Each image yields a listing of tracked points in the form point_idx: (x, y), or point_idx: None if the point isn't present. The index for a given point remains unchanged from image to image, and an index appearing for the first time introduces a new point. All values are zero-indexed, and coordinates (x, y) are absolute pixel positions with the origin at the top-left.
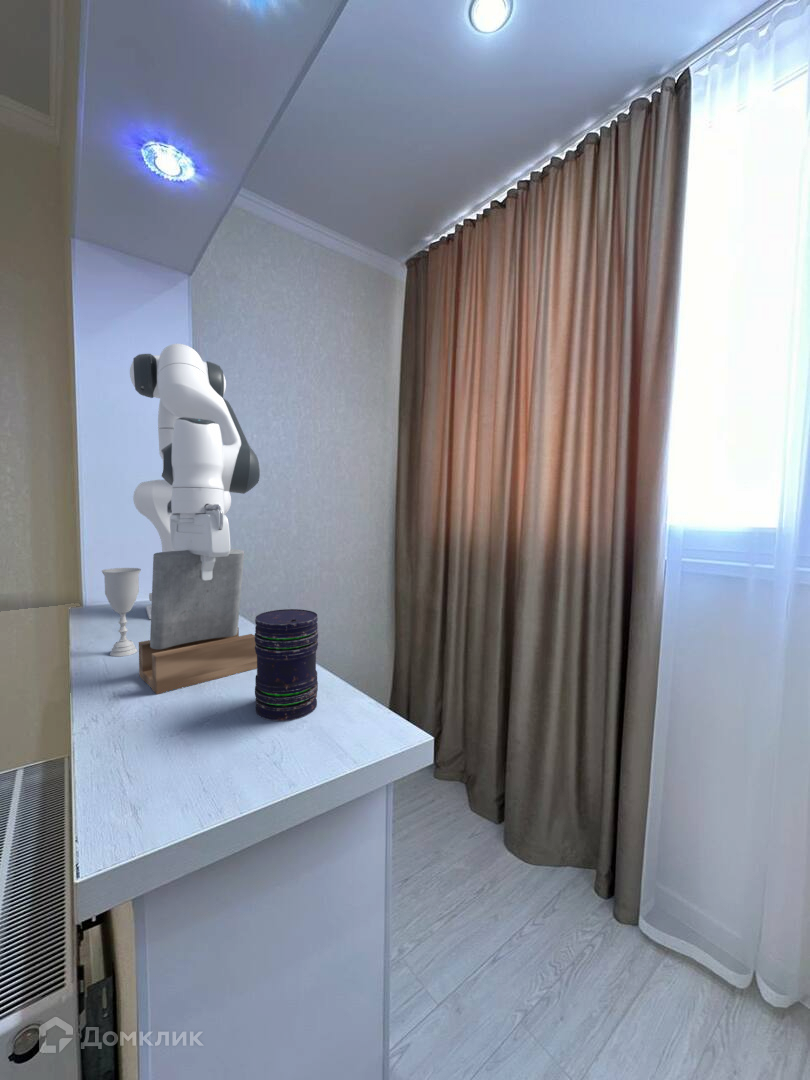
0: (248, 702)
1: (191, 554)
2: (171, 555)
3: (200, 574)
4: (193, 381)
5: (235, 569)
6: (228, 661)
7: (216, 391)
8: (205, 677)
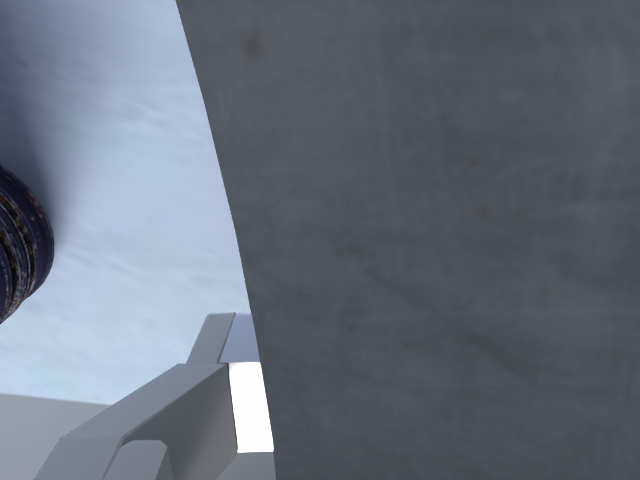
0: (48, 164)
1: (308, 453)
2: (299, 74)
3: (255, 335)
4: None
5: None
6: None
7: None
8: None
